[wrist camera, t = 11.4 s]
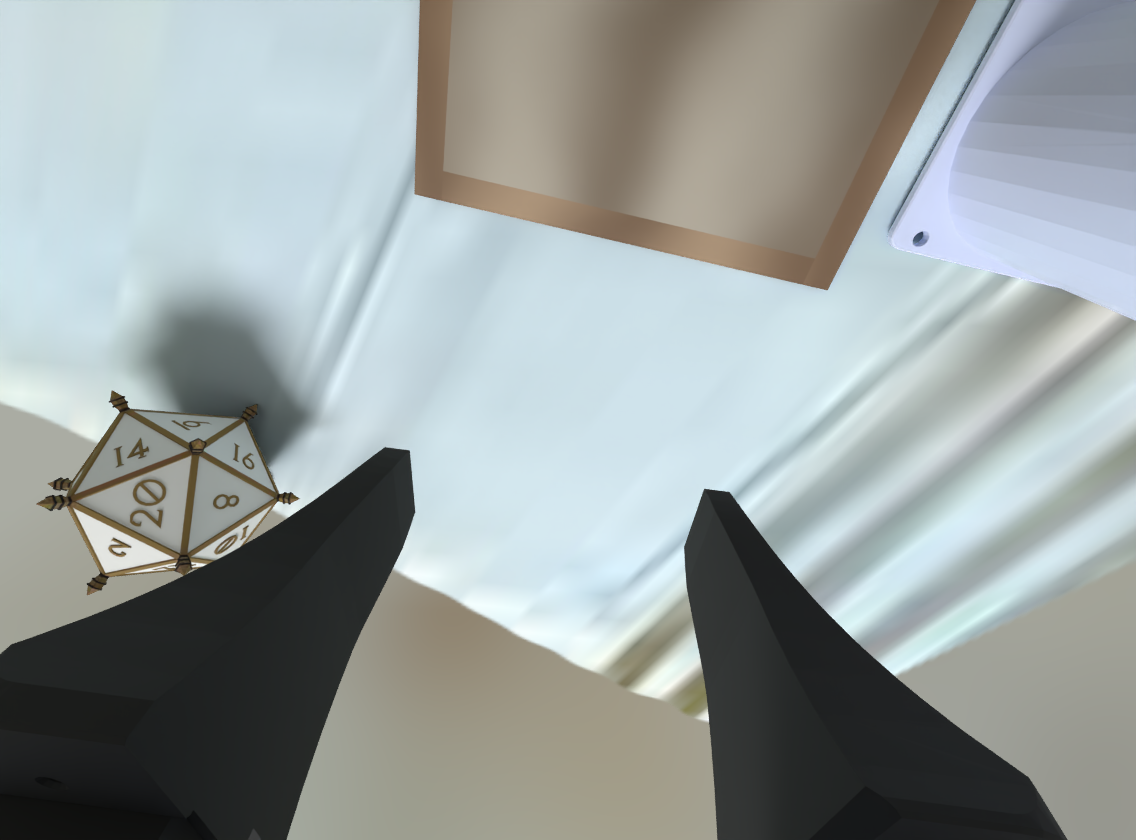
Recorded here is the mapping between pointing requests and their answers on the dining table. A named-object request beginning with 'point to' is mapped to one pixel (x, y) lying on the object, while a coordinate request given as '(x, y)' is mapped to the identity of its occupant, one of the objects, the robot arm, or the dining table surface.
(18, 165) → the dining table surface
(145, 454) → the game die
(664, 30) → the shallow brown tray
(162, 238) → the dining table surface
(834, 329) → the dining table surface
